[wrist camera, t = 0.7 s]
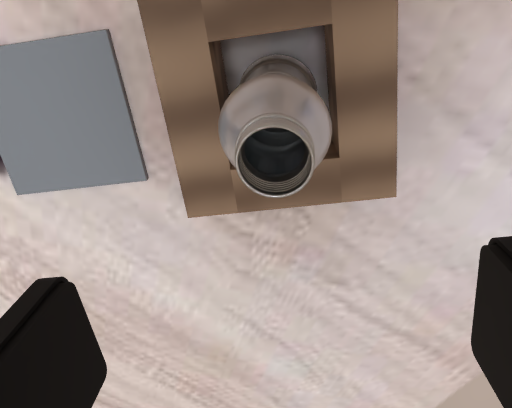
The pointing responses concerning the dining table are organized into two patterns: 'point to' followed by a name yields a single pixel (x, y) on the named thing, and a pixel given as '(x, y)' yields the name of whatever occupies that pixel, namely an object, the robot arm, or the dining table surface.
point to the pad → (66, 115)
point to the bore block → (216, 92)
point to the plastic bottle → (275, 126)
